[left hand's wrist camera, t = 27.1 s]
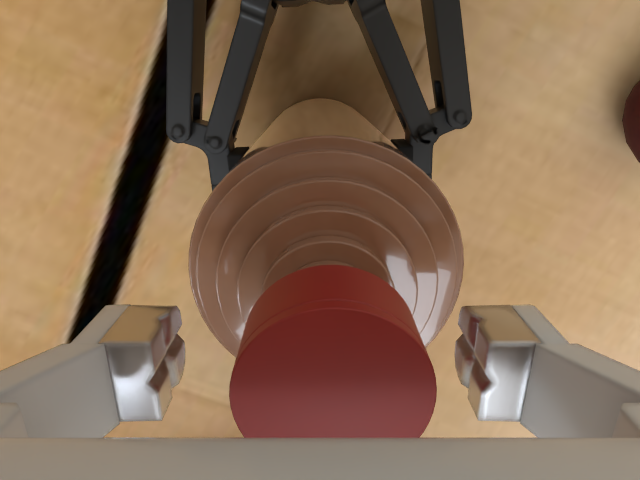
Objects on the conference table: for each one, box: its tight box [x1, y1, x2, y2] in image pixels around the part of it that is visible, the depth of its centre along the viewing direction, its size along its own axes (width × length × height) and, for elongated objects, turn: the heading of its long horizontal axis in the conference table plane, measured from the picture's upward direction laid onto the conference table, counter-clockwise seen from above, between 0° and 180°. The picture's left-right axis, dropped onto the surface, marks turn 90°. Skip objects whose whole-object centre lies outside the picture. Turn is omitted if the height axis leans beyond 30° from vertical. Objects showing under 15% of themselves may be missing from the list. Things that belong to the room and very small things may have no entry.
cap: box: [229, 265, 437, 438], centre depth 9 cm, size 4×4×2 cm
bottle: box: [189, 98, 464, 357], centre depth 20 cm, size 8×8×23 cm
